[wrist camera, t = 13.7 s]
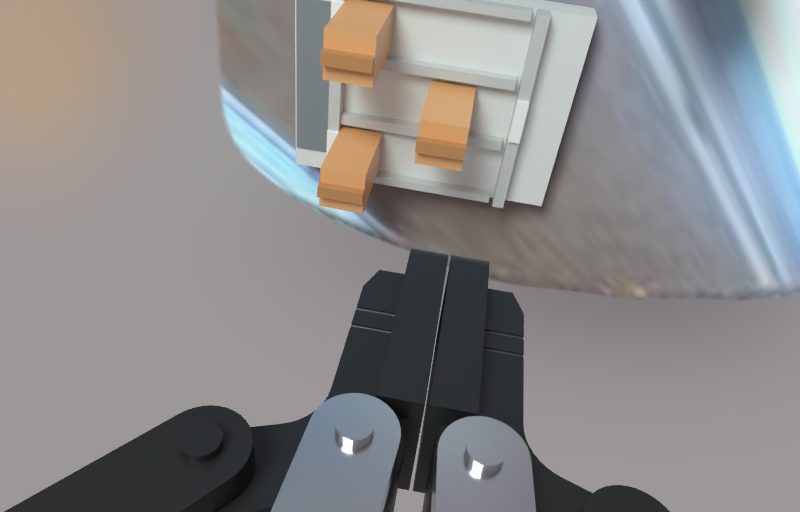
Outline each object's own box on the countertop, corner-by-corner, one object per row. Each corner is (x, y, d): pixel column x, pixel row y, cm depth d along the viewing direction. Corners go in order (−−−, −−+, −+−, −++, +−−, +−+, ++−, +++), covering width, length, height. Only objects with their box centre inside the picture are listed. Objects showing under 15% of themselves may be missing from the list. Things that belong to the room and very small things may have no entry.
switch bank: (594, 7, 39) (599, 25, 37) (540, 192, 48) (541, 216, 46) (303, -37, 41) (288, -23, 38) (303, 151, 49) (290, 172, 47)
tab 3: (475, 87, 42) (469, 132, 36) (468, 127, 43) (460, 176, 38) (431, 80, 42) (418, 124, 37) (426, 120, 44) (412, 168, 38)
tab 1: (394, 4, 39) (374, 40, 34) (389, 51, 41) (370, 92, 36) (347, -3, 39) (321, 32, 34) (345, 44, 41) (319, 83, 36)
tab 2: (382, 132, 45) (363, 180, 40) (378, 168, 47) (360, 218, 41) (341, 126, 45) (317, 172, 40) (339, 162, 47) (317, 210, 42)
